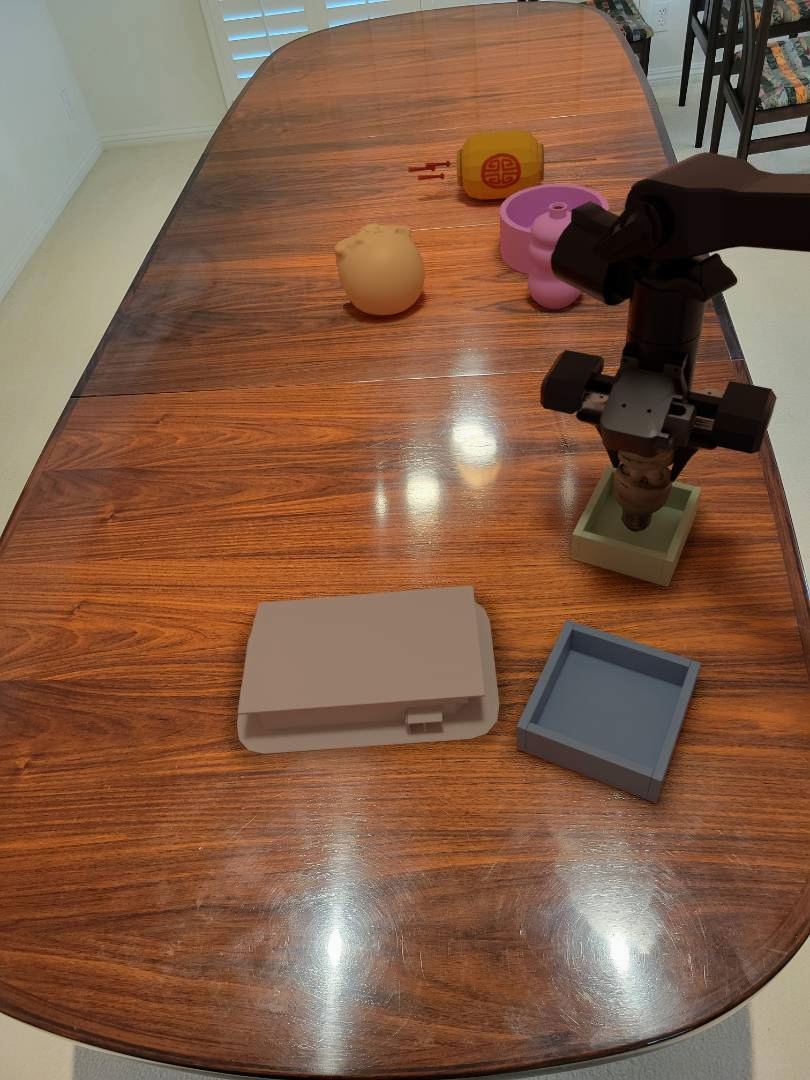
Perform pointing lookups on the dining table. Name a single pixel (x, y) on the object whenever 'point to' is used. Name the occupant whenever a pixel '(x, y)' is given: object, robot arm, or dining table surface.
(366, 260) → the sculpture
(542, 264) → the container set
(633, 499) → the brown ridged cylinder
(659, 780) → the gray square bin
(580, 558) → the right bin
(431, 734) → the book
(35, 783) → the dining table surface
